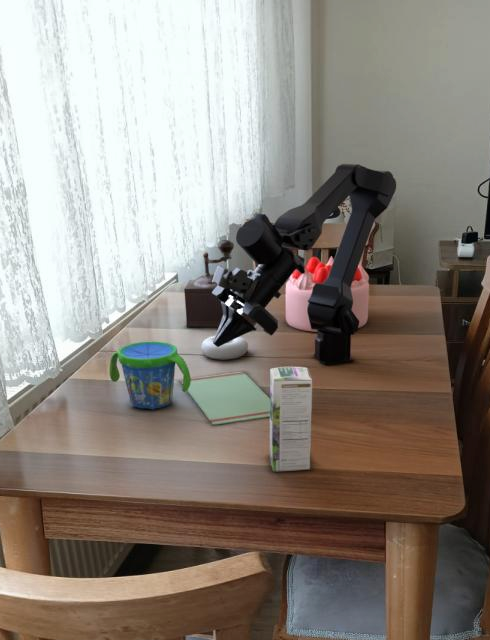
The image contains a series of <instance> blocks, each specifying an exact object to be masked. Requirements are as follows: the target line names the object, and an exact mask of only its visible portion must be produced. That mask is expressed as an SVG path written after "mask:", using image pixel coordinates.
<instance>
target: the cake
mask: <svg viewBox="0 0 490 640" xmlns="http://www.w3.org/2000/svg"><path fill="white" fill-rule="evenodd" d="M333 262H334V258H333V256H332V255H331V256H330V257H329V259H328V261H327V263H326V264H325V262H323V261H320V259H319V258H318V257H317V256H312V257H310V259H309V260H308V262H307V264H304V267H305V272H304V274H301V273H300V272H298V271H296V270H295V271H294V272H293V274H292V275H291V276H290V277H289V279H288V280H287V281H286V282H285V322H286V323H287V324H288V325H289V326H290V327H292V328H294V329H297V330H300V331H307V332H313V333H317V330H315V329H314V330H313V329H311V325H310V321H309V317H308V313H307V307H308V304H309V302H308V300H309V298H310V296H311V294H312V290H313V286H314V285H315V284H316V283H320V284H322V283H323V282H324V281H325V280H326V279H327V278H328V275H329V273H330V270H331V267H332V264H333ZM369 281H370V276H369V274H368V273H367V271H366V270H365V269H364V267H363V264H362V262H361V261H360V262H359V265H358V268H357V271H356V273H355V276H354V279H353V282H352V285H351V292H352V297H353V306H352V312H353V313H354V314H355V316H356V317H357V318H358V320H359V326H358V329H359V328H362V327H363V326H365V325H367V322H368V317H369V300H370V299H369V298H370V283H369Z"/></svg>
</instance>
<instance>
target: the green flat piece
mask: <svg viewBox="0 0 490 640" xmlns="http://www.w3.org/2000/svg"><path fill="white" fill-rule="evenodd" d="M190 378H191V383H190V387H189V389H188V390H187V391H186V392H188V394H189V395H190V396H191V398H192V399H193V401H194V402H195V403H196V405H197V406H198V407H199V409H200V410H201V411H202V413H203V414H204V415H205V417H206V418H207V419H208V421H209V422H210V423H211V425H212V426H218V425H224V424H231V423H238V422H239V423H240V422H244V421H245V422H246V421H251V420H259V419H264V418H270V396H268V395H267V394H266V393H265V392H264V391H263V390H262V389H261V388H260V387H259V386H258V385H257V384H256V383H255V382H254V381H253V380H252V379H251V378H250V377H249V376H248V375H247V374H246V373H245V372H244V371H243V370H242V371H236V372H228V373H220V374H213V375H205V376H197V377H190ZM179 381H180V383H181V385H183V379H179Z"/></svg>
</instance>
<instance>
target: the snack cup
mask: <svg viewBox="0 0 490 640" xmlns="http://www.w3.org/2000/svg"><path fill="white" fill-rule="evenodd" d="M118 362H119V364H120V365H121V368H122V373H123V376H124V381H125V385H126V390H127V393H128V396H129V400H130V403H131V404H132V407H134V408H139V409H149V410H155V409H161V408H165V407H166V406H169V405H170V404H171V402H172V401H173V394H174V384H175V372H176V365H177V367H178V369H179V371H180V372H181V374H182V376H183V384H182V389H181V391H182V392H183V393H186V392H188V391H187V390H188V389H189V387H190V383H191V378H192V377H191V374H190V369H189V367H188V364H187V362H186V361H185V359H184V358H183V357H182V355H180V354H179V353H178V347H177V346H176V345H174V344H172V343H169V342H164V341H151V340H149V341H138V342H133V343H129V344H127V345H124V346H122V347H120V348H119V349H118V350H117V351H115V352H114V353H113V354H112V356H111V357H110V361H109V378H110V380H111V382H114V383H116V382H118V381H119V380H120V377H121V376H120V375H121V374H120V371H119V368H118Z"/></svg>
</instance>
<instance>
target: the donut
mask: <svg viewBox="0 0 490 640" xmlns="http://www.w3.org/2000/svg"><path fill="white" fill-rule="evenodd" d="M215 336H216V334H214V335H212V336H209V337H207V338H206V339H204V340H203V342H202V344H201V352H202V353H203V354H204V355H205V356H206V357H207V358H210V359H213V360H221V361H223V360H233V359H237V358H240V357H243V356H244V355H245V354H246V353H247V352H248V349H249V343H248V341H247V340H246V339H245V338H244V337H243V336H240V337H238V338H235V339H233V340H231V341H229V342H227V343H225V344H223V345H221V346H219V347H217V346H215V345H214V344H213V341H214V338H215Z"/></svg>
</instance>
